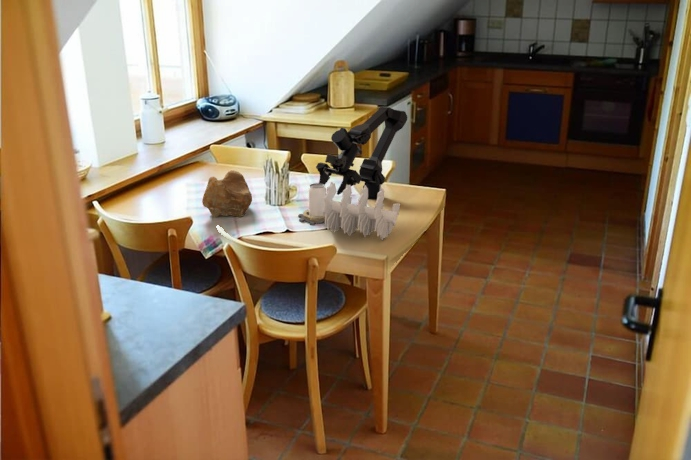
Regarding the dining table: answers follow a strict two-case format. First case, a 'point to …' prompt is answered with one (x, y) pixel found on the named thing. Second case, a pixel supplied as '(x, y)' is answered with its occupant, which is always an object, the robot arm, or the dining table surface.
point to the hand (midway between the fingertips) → (328, 191)
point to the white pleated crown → (358, 213)
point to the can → (317, 200)
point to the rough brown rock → (227, 195)
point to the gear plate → (311, 218)
